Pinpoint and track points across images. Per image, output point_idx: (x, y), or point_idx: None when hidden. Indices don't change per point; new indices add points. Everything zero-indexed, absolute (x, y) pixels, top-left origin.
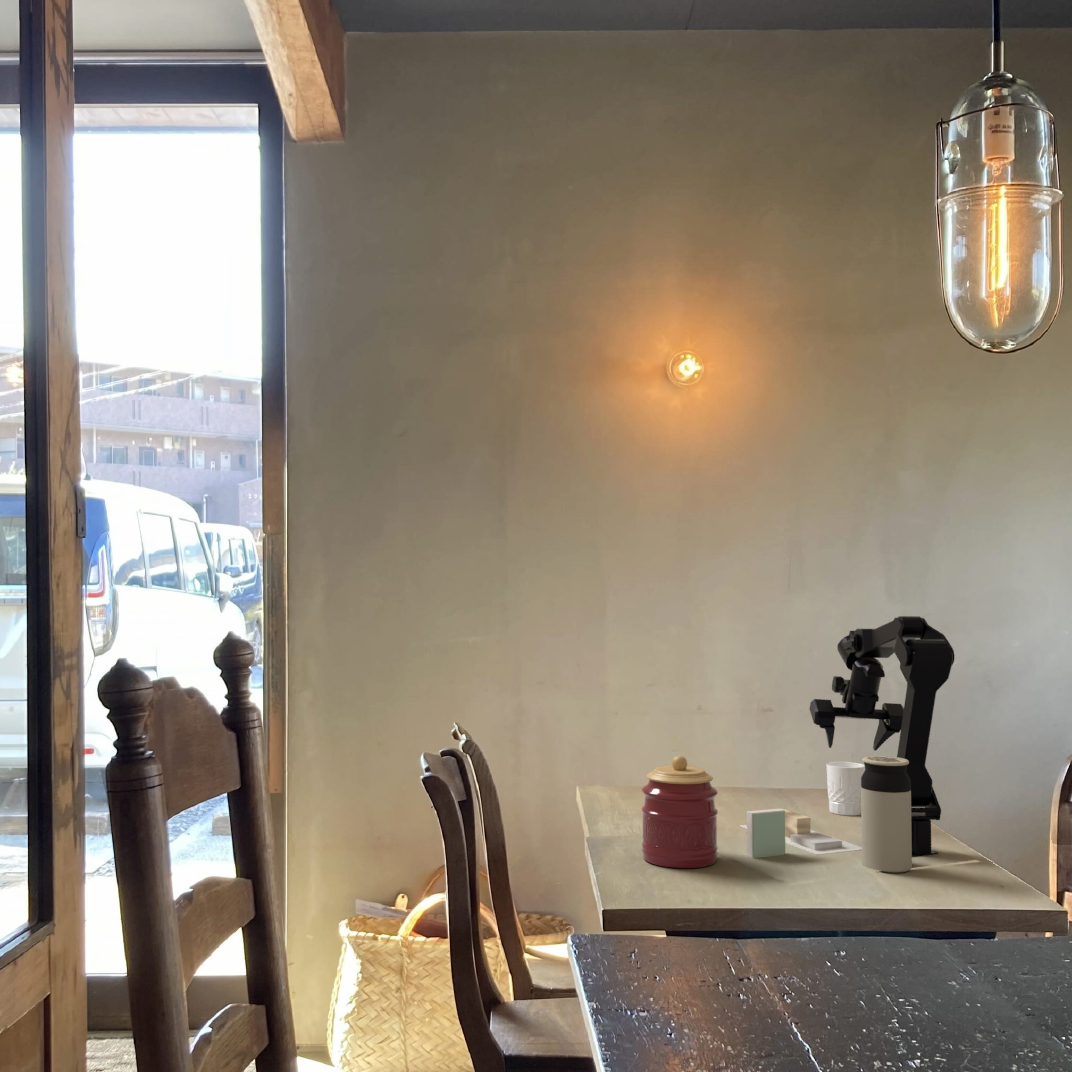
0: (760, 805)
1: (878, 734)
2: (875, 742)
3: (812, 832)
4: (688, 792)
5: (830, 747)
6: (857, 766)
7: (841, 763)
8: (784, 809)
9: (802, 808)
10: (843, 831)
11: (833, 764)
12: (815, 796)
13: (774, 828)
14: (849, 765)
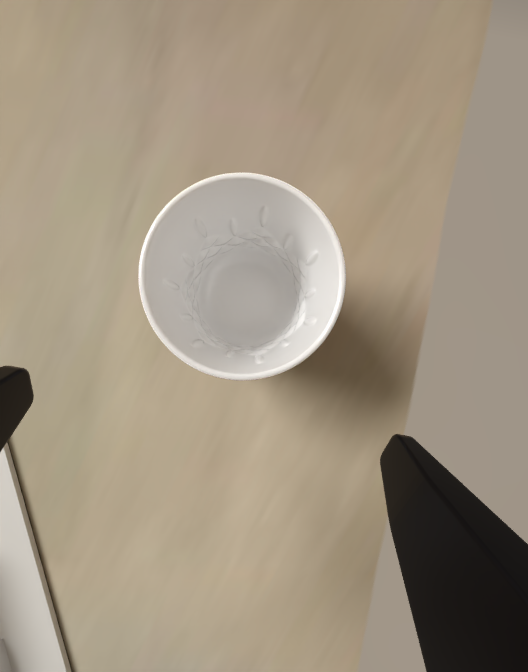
0: (22, 166)
1: (484, 660)
2: (414, 520)
3: (20, 568)
4: None
5: (22, 407)
6: (327, 245)
7: (263, 187)
8: None
9: (139, 227)
10: (129, 532)
11: (216, 188)
12: (261, 51)
13: None
14: (299, 209)
